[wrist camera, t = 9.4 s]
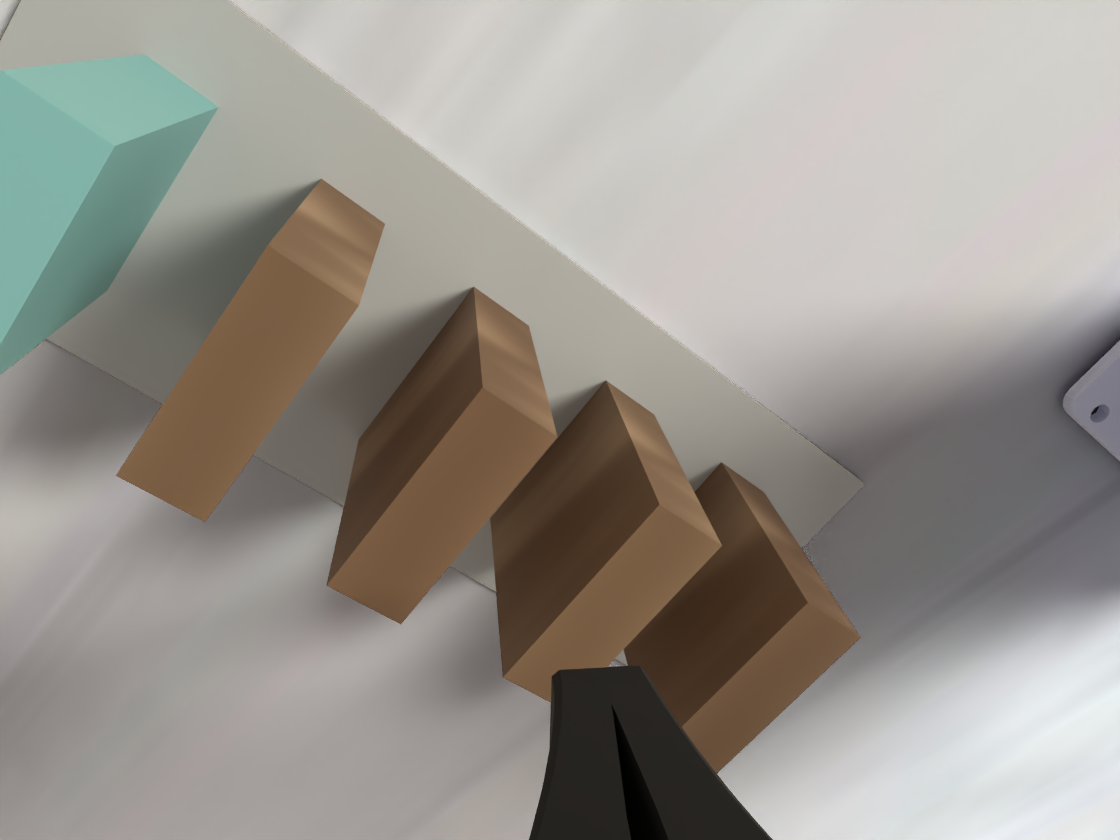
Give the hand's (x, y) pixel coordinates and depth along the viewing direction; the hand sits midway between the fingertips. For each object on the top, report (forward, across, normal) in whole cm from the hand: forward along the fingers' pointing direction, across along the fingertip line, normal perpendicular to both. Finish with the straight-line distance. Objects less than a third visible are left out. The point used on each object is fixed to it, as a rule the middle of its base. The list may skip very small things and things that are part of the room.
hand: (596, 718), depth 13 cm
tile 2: (+10, -1, +1) cm, 10 cm away
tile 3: (+10, +2, -2) cm, 10 cm away
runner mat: (+10, +2, -2) cm, 10 cm away
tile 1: (+10, -4, +3) cm, 11 cm away
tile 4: (+10, +6, -4) cm, 12 cm away
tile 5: (+10, +9, -6) cm, 14 cm away
